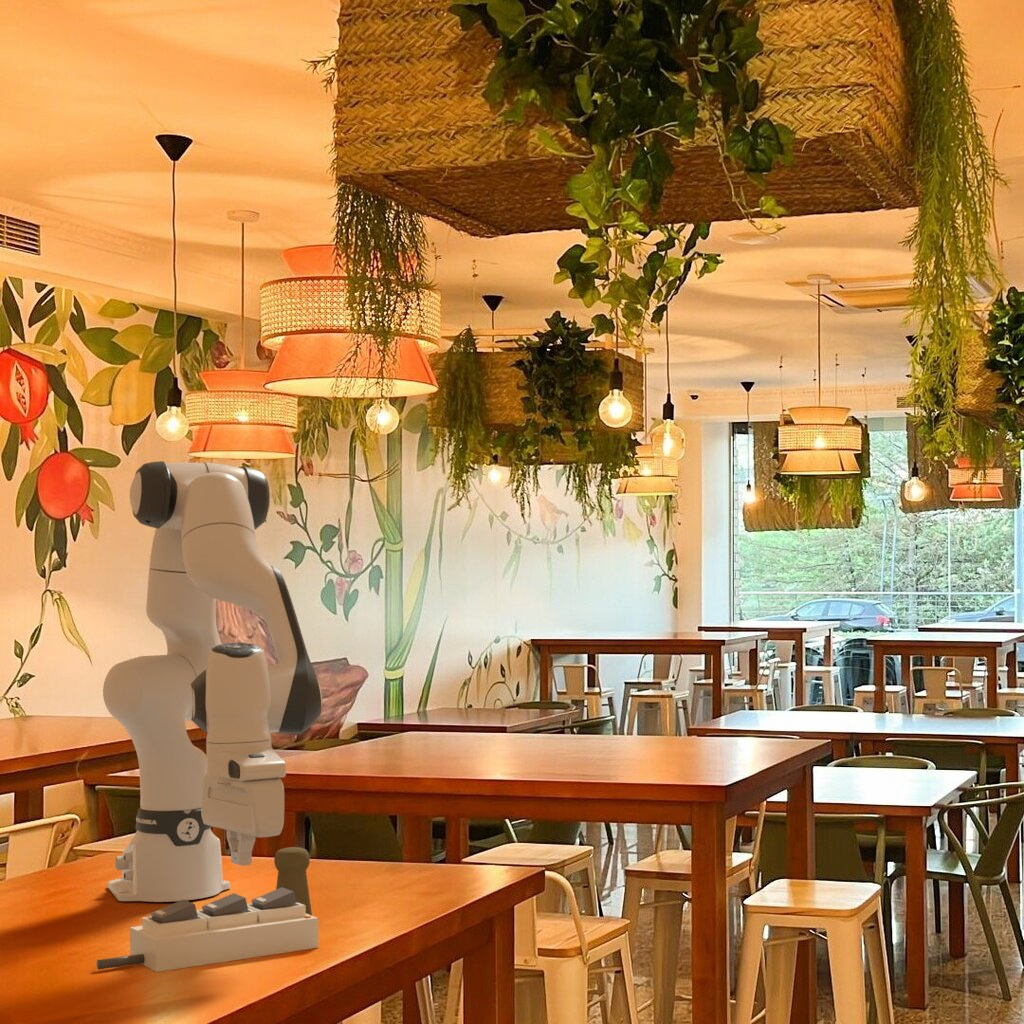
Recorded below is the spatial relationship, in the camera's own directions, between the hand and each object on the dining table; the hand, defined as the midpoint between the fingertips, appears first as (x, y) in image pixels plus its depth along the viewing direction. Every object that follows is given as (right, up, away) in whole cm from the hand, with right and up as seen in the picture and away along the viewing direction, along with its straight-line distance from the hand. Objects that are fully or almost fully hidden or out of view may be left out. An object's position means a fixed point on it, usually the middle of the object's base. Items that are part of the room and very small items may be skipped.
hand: (241, 864), depth 211 cm
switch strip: (-4, -12, -3) cm, 13 cm away
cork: (+5, -13, +17) cm, 22 cm away
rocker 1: (-8, -6, -5) cm, 11 cm away
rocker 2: (-2, -6, -1) cm, 6 cm away
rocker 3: (+4, -6, +3) cm, 8 cm away
